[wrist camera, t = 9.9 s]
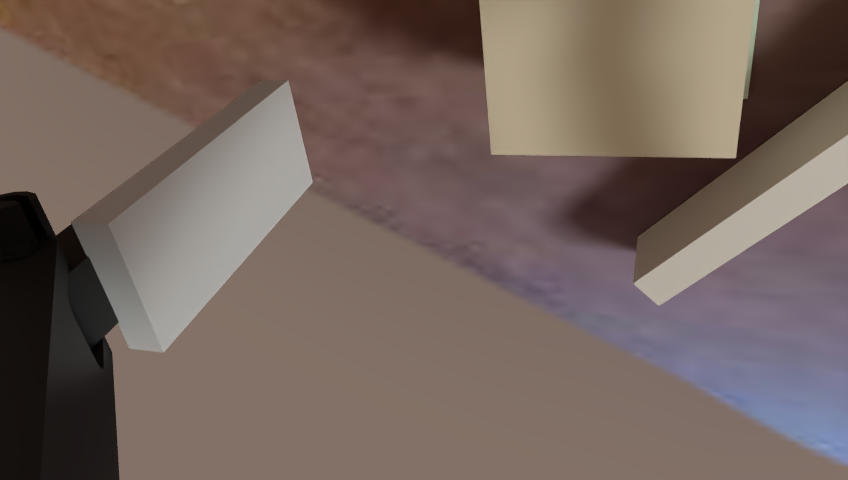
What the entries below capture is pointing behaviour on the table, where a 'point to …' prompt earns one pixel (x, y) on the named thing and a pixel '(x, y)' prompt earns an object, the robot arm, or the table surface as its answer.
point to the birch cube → (615, 76)
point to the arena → (747, 197)
